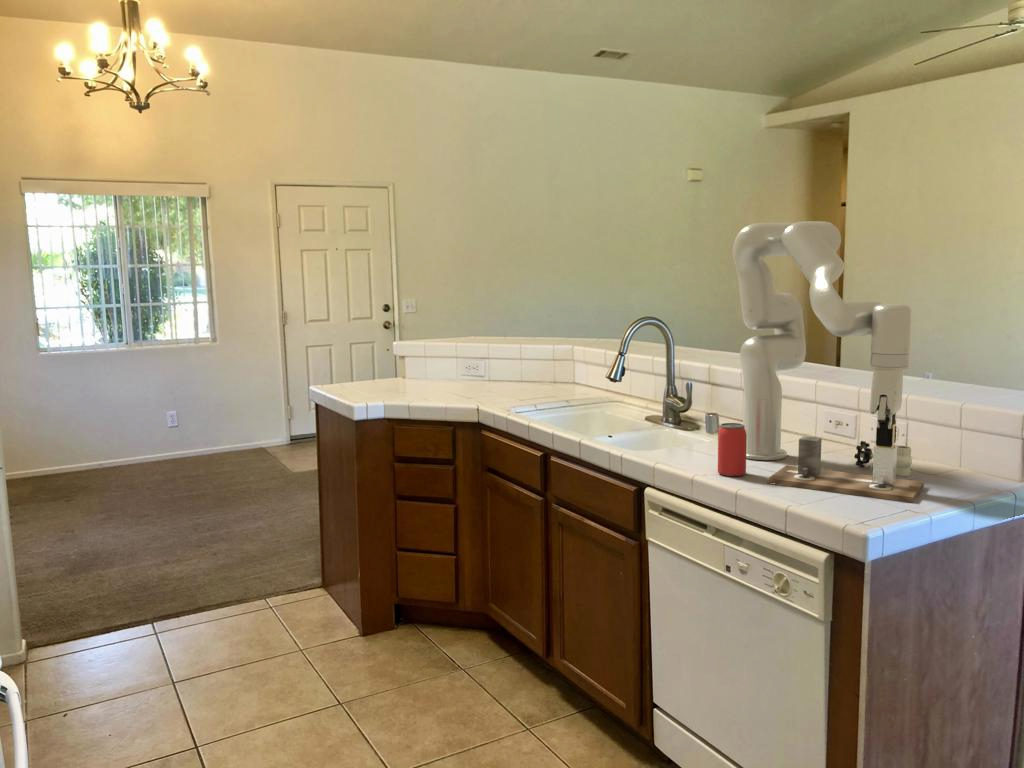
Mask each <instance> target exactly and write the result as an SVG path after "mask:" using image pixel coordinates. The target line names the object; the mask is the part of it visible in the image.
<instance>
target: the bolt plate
mask: <svg viewBox="0 0 1024 768" xmlns="http://www.w3.org/2000/svg"><path fill="white" fill-rule="evenodd" d="M822 439H823V438H822V437H818V436H817V437H816V436H807V435H806V436H805V435H803V436H802V437H800V438H799V439H798V454H797V455H798V461H797V466H795V465H794V466H793V465H785V466H782V468H780V469H779V470H778V471H776V472H775V473H773V474H772V475H770V476H769V477H767V484H769V483H775V484H774V485H777V484H781V485H780V486H784V485H787V486H786V487H792V486H793V487H792V488H801V489H806V490H807V489H808V490H815V491H823V492H828V493H829V492H830V493H835V494H836V493H837V494H844V495H845V494H846V495H852V496H859V497H860V496H861V497H866V498H873V499H875V498H876V499H882V500H889V501H894V502H895V501H897V502H903V503H904V502H905V503H912V504H913V503H914V502H915V501H916V499H917V497H918V496H919V494H920V493H921V491H922V490H923V489H924V485H925V484H924V483H925V481H920V480H912V479H904V478H903V479H902V478H896V481H895V482H894V483H893V485H889V484H882V486H880V485H878V483H873V482H872V480H873V475H869V474H860V473H853V472H845V471H839V470H838V471H836V470H828V469H821V468H822V467H821V465H822Z"/></svg>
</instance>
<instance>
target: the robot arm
mask: <svg viewBox="0 0 1024 768" xmlns="http://www.w3.org/2000/svg"><path fill="white" fill-rule="evenodd" d="M841 243H842V235H841V232H840V231H839V229H838V227H836V225H835V224H833V223H831V222H828V221H824V220H823V221H822V220H821V221H814V220H813V221H812V220H811V221H809V220H808V221H807V220H806V221H804V220H803V221H796V222H756V223H751V224H749V225H746V226H744V227H743V228H742V229H741V230H740V231H738V233H737V235H736V237H735V239H734V241H733V248H732V256H733V262H734V266H735V269H736V274H737V277H738V278H737V279H738V284H739V285H738V287H739V288H738V289H739V296H740V297H739V298H740V306H741V314H742V321H743V324H744V325H745V327H747V328H748V329H750V330H753V331H766V330H773V331H774V332H773V334H761V335H754V336H752V337H749V338H748V339H746V340H745V341H744V342H743V343H742V345H741V349H740V352H739V357H740V359H739V360H740V364H741V368H742V369H741V370H742V376H743V409H742V410H743V412H742V413H743V414H742V421H743V422H742V424H743V425H744V426H745V427H744V428H745V431H746V434H747V442H746V460H747V459H748V460H754V461H778V460H782V459H785V458H786V457H787V456H788V455H787V450H785V449H783V448H781V444H782V442H781V440H782V439H781V438H782V436H781V435H782V408H783V407H782V404H783V400H782V399H783V391H782V390H783V389H782V384H781V381H780V379H779V377H778V375H777V373H776V372H778V371H786V370H794V369H797V368H799V367H801V365H802V364H803V362H805V359H806V355H807V346H806V345H807V344H806V343H807V342H806V333H805V325H804V314H803V309H802V305H801V303H800V302H799V300H798V299H797V297H796V296H795V295H793V294H791V293H788V292H776V291H775V286H774V278H773V273H772V270H771V269H770V267H769V265H768V264H767V263H766V261H765V260H764V258H765V257H766V258H767V257H768V258H769V257H772V258H774V257H775V258H776V257H779V258H780V257H786V258H787V257H790V258H791V259H792V261H793V262H794V264H795V265H796V266H797V268H799V270H800V271H801V273H802V274H803V276H804V277H805V278H806V280H807V282H809V284H810V287H809V291H808V292H809V300H810V302H809V303H810V307H811V309H812V311H813V313H814V314H815V316H816V317H817V319H818V320H819V322H820V323H821V324H822V325H823V327H824V328H825V329H826V330H827V331H829V333H831V334H832V335H834V336H836V337H840V338H850V337H851V338H852V337H858V336H859V337H864V336H870V337H871V338H870V339H871V340H870V360H869V361H870V363H869V367H870V368H871V369H873V374H872V379H871V380H872V381H871V390H870V402H869V413H870V414H871V415H874V414H876V413H877V421H876V422H877V423H876V431H875V433H876V434H875V445H877V446H883V447H892V442H893V429H891V428H892V423H895V443H896V442H897V440H896V439H897V412H899V411H900V410H901V407H902V401H903V400H902V399H903V383H904V381H903V380H904V370H908V369H909V368H910V367H909V366H910V365H909V363H910V348H911V347H910V346H911V345H910V344H911V323H912V309H911V307H910V305H908V304H905V303H883V302H882V303H881V302H878V301H877V302H876V301H853V302H845V301H844V300H843V298H842V297H841V296H840V295H839V294H838V293H837V291H836V289H835V288H834V286H833V283H834V282H836V281H837V280H838V279H840V277H841V275H843V272H844V270H845V263H844V261H843V259H842V258H841V257H840V255H839V254H837V252H838V250H839V249H840V246H841Z"/></svg>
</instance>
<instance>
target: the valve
mask: <svg viewBox="0 0 1024 768" xmlns="http://www.w3.org/2000/svg"><path fill="white" fill-rule="evenodd" d="M859 444H860V445H856V449H855V450H856V451H857V453H855V454H854V459H855V460H856V462H855V466H858V467H859V468H861V469H862V468H863V469H864V468H866V465H867V464H869V463H870V462H871V461H872V460H873V456H874V452H873V451H872V449H871V448H870V445H871V444H870V443H867V442H866V441H864V440H861V441H860V442H859ZM911 455H912V448H911V447H910V446H908V445H897V464H896V476H901V477H905V476H906V477H907V476H910V475H911V466H912V463H913V459H912V456H911ZM861 458H862V459H861Z"/></svg>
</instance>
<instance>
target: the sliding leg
mask: <svg viewBox="0 0 1024 768" xmlns="http://www.w3.org/2000/svg"><path fill="white" fill-rule="evenodd" d="M895 426H896V425H895V423H892V428H891V429H893V442H892V447H883V446H877V445H876V444H875V445H874V446H873V454H874V456H873V458H872V460H873V461H872V462H873V463H872V476H873V480H872V482H873V483H878V485H880V486H882V484H889V485H893V483H894V482H895V481H896V479H897V475H896V464H897V446H898V445H897V444H895V443H896V442H895Z"/></svg>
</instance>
